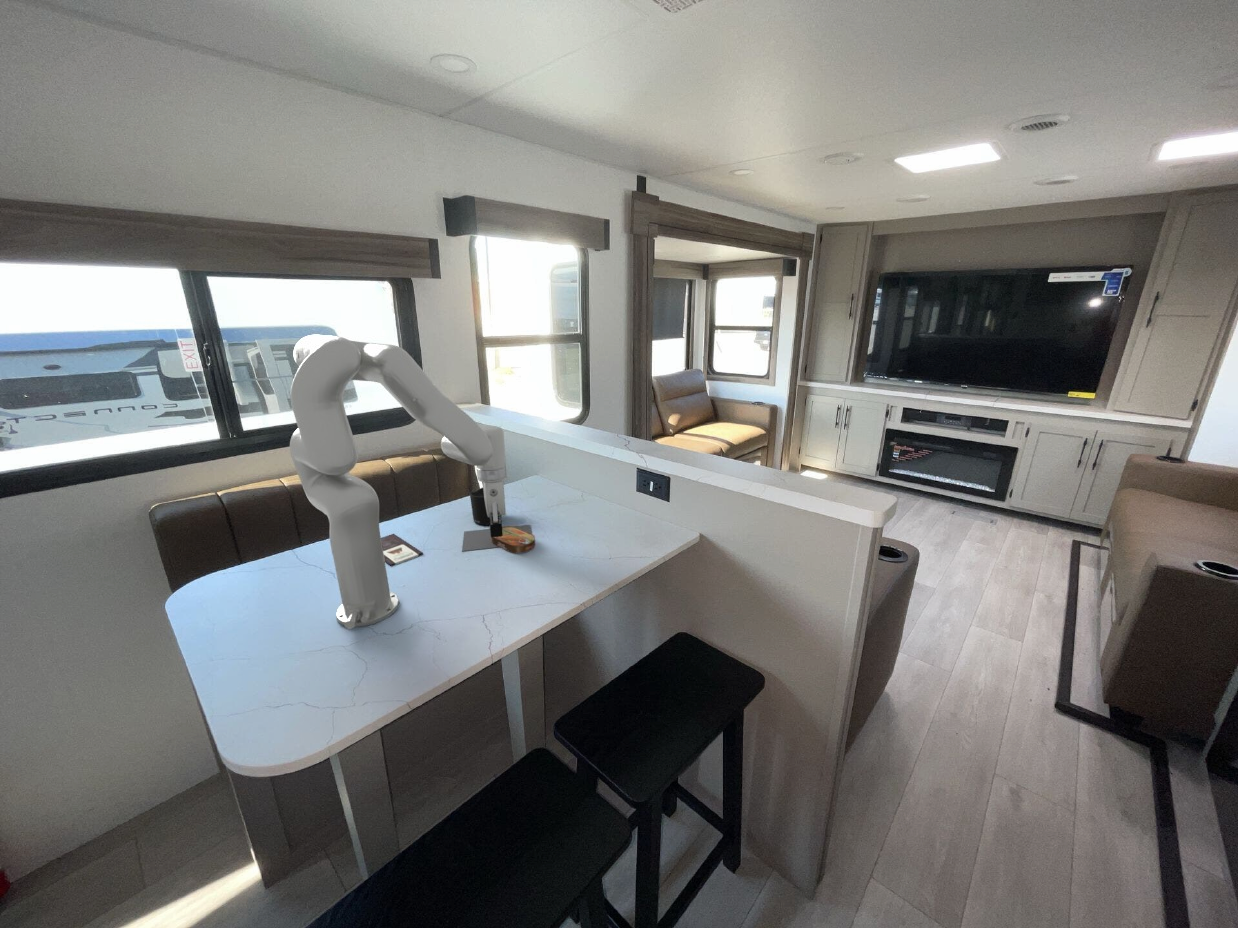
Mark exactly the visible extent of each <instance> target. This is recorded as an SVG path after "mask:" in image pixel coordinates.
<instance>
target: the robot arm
mask: <svg viewBox="0 0 1238 928" xmlns="http://www.w3.org/2000/svg"><path fill="white" fill-rule="evenodd" d="M293 359H294V361H295V363H296V365H297V366H298V368H297V371H296V373H295V375H294V377H293V379H292V383H291V386H290V403H291V408H292V411H293V414H294V419H295V422H296V426H297V428H296V430H295V431H294V432H293V433H292V435H291V438H290V441H289V451H290V455H291V459H292V462H293V465H294V467H295V471H296V473H297V476H298V478H299V481H300V483H301V486H302V488H303V489H302V490H303V491H304V493H305V495H306V498H307V499H308V501H309V502H310V504H311V505H312V507H315V509H317V510H319V511H320V512H322V513H323V514H324V515H325V516H327V518H328V523H329V545H330V549H331V554H332V557H333V563H334V567H335V572H336V578H337V583H338V588H339V593H340V598H341V603H342V604H341V605H340V606H339V607H338V608H337V610H336V613H335V617H336V621H337V622H338V624H340V625H343V626H344V627H345V628H346V629H348V630H352V629H354V628H357V627H365V626H370V625H374V624H376V623H379V622H381V621H383V620H386V619H388V618H389V617H390V616H392V615H393V614H394V613H395V611H396V610H397V609H398V608H399V605H400V600H399V596H398V595H397V594H396V593H394V592H392V591H390V585H389V578H388V572H387V568H386V563H385V560H384V554H383V547H382V542H381V538H382V537H381V531H380V530H381V529H380V501H379V497H378V496H379V495H378V494H377V492H376V491H375V489H374V488H373V487H372V485H371V484H369V483H368V482H366V481H365V480H363V479H361V478H359V477H357V476H355V475H352V474H350V472H351V471H352V470H353V469H354V468H355V467H356V465H357V463H358V458H359V452H358V446H357V444H356V440H355V438H354V435H353V432H352V428H351V426H350V423H349V419H348V417H347V413H346V408H345V404H344V394H345V390H346V388H347V386H348V384H349V382H351V381H361V382H362V381H364V382H372V383H373V382H374V383H377V384H381V385H382V386H383V388H384V389H385V390H387V392H388V393H389V394H390V395H391V396H392V397H393V398H394V399H395V400H396V401H397V402H398V403H399V404H400V405H401V407H402V408H403V409H404V410H405V411H406V412H407V413H408V414H409V416H411V418H413V420H416V421H417V422H418V423H420V424H421V425H423V426H426V427H427V428H429V429H431V430H433V431H435V432H437V433H438V434H439V435H441V436H442V438H441V441H440V448H441V450H442V452H443V454H445V456H447V457H448V458H450V459H452V460H455V461H459V462H462V463H466V464H468V465H471V466H475V467H476V474H477V475H476V477H477V481H479V482H482V488H483V491H484V500H485V506H486V511H487V516H488V517H489V518H490V525H489V529H490V534H491V537H500V536H503V533H502V527H503V522H502V516H503V517H505V516H506V515H507V513H506V512H507V510H506V497H505V496H506V495H505V485H504V480H506V479H507V464H506V463H507V462H506V461H507V460H506V448H505V433H504V429H503V428H501V427H500V426H498V425H484V426H480V425H479V424H478V423H477V422H476V420H474V419H473V418H472V417H471V416H470V415H469V414H468V413H466V412H465V411H464V410H462V409H461V408H460V407H459V406H458V405H456V403H455V402H453V401H452V400H451V399H449V398H448V397H447V396H446V395H444V393H443V392H442V391H440V389H439V388H438V387H437V385H435V383H434V382H433V381H432V380H431V379H430V377H429V376H428V375H427V374H426V373H425V371H424V370H423V369H422V368H421V366H420V365H419V364H418V363H417V362H416V360H414V358H413V357H412V356H411V355H410V354H409V353H408V352H407V351H406V350H405V349H404V348H402V347H400V346H398V345H395V344H387V343H373V342H364V341H356V340H350V339H347V338H345V337H341V336H339V335H328V334H327V335H326V334H325V335H323V334H311V335H310V334H309V335H307V336H304V337H302V338H301V339H300V340H298V341H297V343H296V344H295V346H294V349H293ZM500 514H501V515H500ZM500 516H501V517H500ZM492 521H493V522H492Z"/></svg>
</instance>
